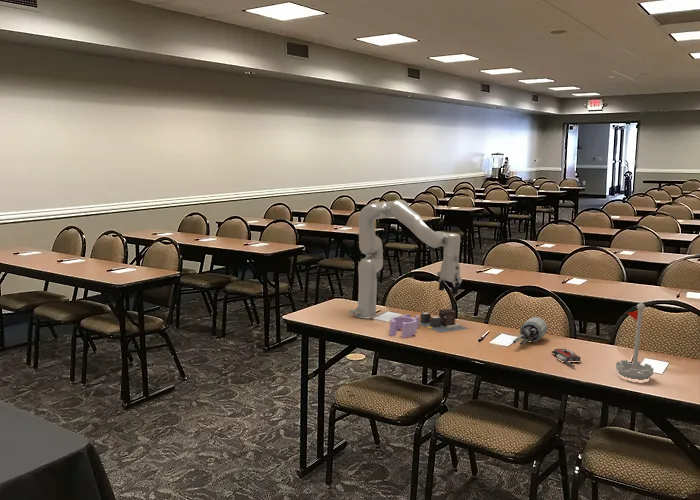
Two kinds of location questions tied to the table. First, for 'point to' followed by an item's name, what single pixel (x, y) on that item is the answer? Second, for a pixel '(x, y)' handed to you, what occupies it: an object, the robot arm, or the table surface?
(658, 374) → the table surface
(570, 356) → the walkie-talkie
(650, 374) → the flag stand
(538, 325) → the device
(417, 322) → the clip
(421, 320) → the block
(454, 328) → the panel
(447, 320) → the box
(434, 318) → the breaker
